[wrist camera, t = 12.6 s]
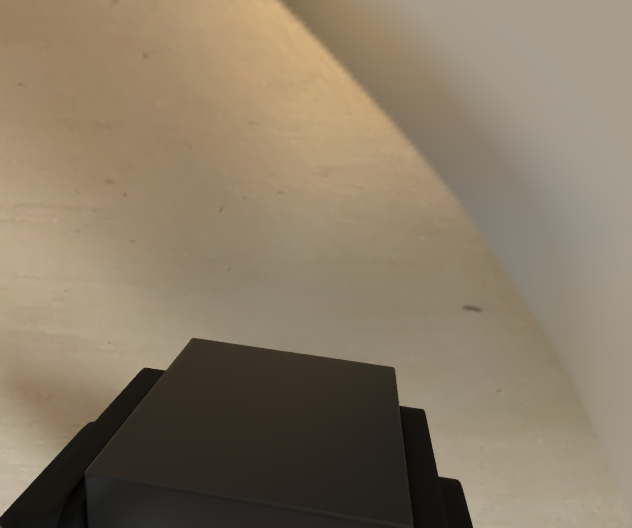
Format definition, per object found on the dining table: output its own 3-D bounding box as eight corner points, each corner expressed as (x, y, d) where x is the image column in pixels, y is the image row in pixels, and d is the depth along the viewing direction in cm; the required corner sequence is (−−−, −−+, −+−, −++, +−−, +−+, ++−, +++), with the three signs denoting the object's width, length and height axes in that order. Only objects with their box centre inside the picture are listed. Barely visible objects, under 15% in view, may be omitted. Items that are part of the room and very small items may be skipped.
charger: (395, 366, 10) (414, 528, 6) (366, 526, 11) (366, 744, 7) (183, 334, 10) (68, 469, 6) (180, 494, 11) (85, 687, 7)
